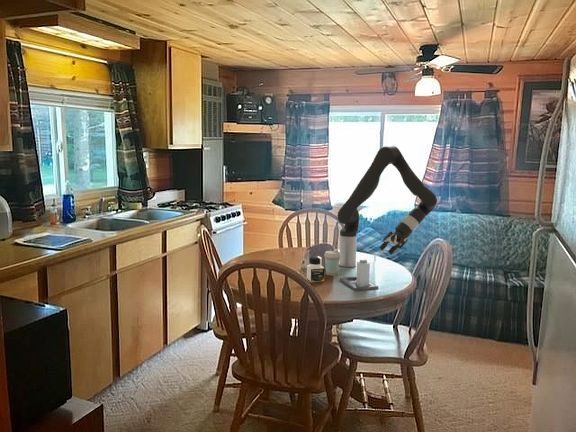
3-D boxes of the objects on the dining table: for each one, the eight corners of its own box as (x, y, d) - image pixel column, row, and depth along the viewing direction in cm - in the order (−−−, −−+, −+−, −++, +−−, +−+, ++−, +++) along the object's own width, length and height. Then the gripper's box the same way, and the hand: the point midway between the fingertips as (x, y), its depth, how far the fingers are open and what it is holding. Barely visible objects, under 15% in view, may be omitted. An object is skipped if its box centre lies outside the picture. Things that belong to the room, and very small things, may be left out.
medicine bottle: (310, 282, 237) (311, 258, 236) (306, 278, 244) (306, 255, 242) (324, 281, 239) (324, 258, 238) (319, 277, 246) (320, 254, 244)
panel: (339, 280, 240) (339, 277, 240) (361, 278, 244) (361, 276, 244) (355, 291, 224) (355, 288, 223) (378, 289, 227) (378, 286, 227)
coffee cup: (339, 277, 247) (339, 254, 245) (322, 276, 249) (323, 253, 247) (340, 272, 255) (341, 250, 254) (324, 271, 257) (325, 250, 255)
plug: (356, 286, 231) (357, 259, 229) (364, 285, 232) (365, 258, 230) (360, 288, 227) (361, 261, 225) (368, 288, 228) (369, 261, 226)
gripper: (394, 219, 238) (373, 243, 236) (410, 223, 224) (387, 249, 223) (403, 229, 240) (382, 253, 238) (419, 234, 227) (397, 259, 225)
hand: (385, 251), depth 231 cm, fingers open, 8 cm apart
